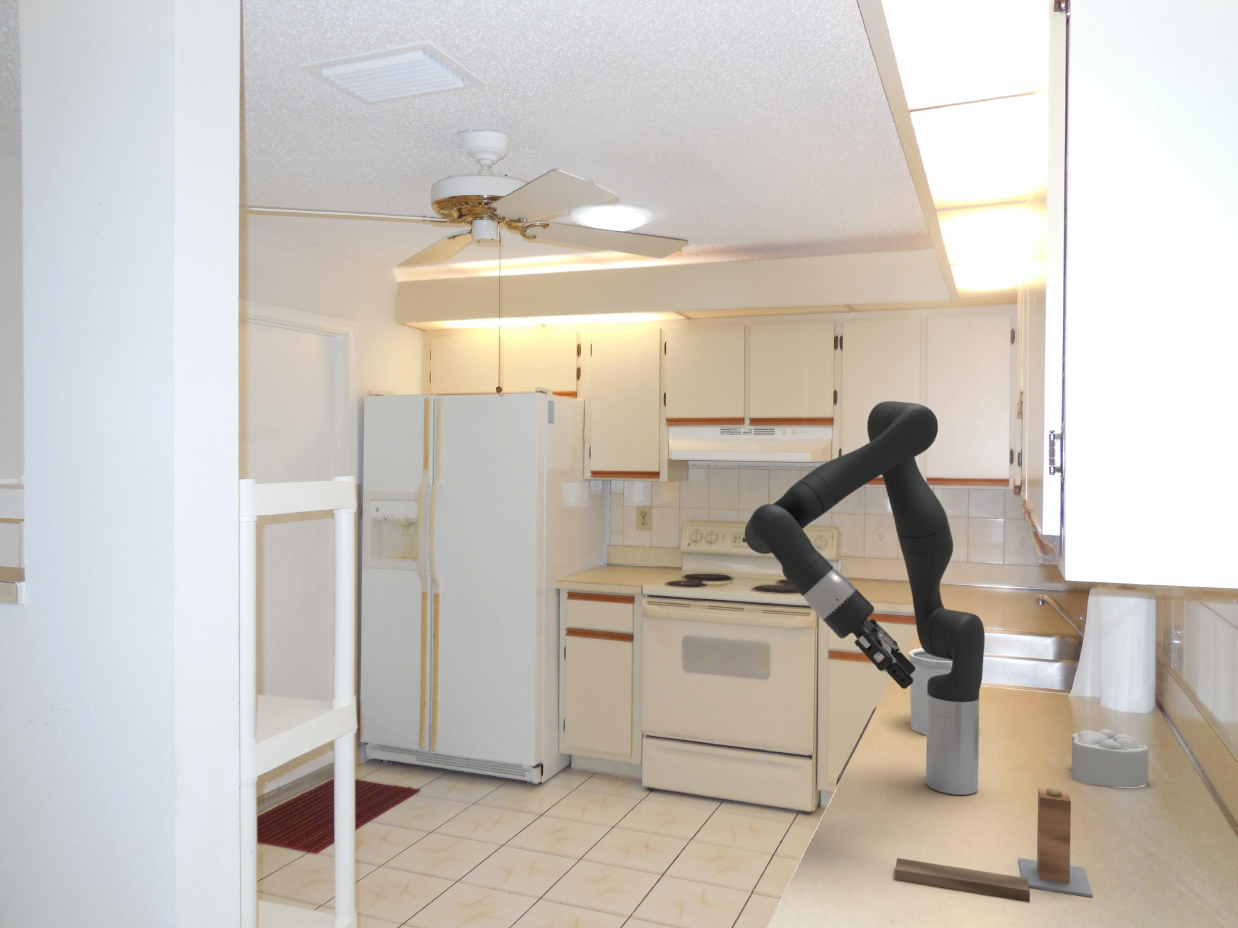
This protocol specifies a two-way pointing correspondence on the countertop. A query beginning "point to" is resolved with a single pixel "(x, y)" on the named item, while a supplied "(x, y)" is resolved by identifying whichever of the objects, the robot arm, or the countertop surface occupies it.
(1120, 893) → the countertop surface
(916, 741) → the countertop surface
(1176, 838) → the countertop surface
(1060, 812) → the post
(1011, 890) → the walnut board
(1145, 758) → the lumpy-topped squat cylinder
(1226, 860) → the countertop surface
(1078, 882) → the slate mat
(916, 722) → the utensil holder
